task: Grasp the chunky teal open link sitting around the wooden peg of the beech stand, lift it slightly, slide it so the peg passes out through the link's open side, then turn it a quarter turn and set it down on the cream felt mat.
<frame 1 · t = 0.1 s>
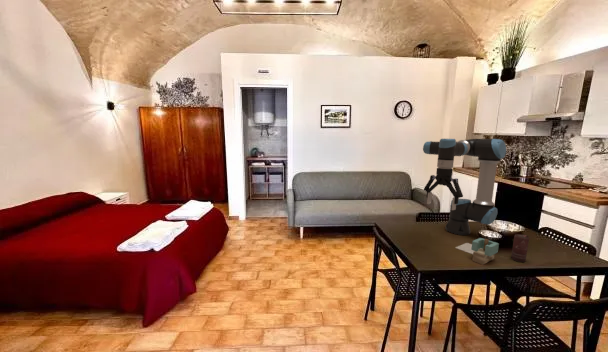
hand: (440, 206, 141), 28 cm above the table, fingers open, 13 cm apart
can: (518, 260, 142), on the table
c link: (484, 251, 140), point 5 cm above the table, touching hook stand
felt mat: (473, 249, 153), on the table
hook stand: (483, 259, 141), on the table
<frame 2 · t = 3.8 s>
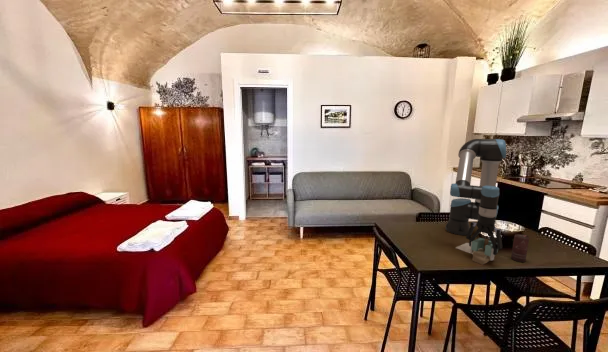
hand: (481, 256, 139), 3 cm above the table, fingers closed on c link, 9 cm apart
c link: (484, 251, 140), point 5 cm above the table, touching gripper, hook stand
everything else where it was.
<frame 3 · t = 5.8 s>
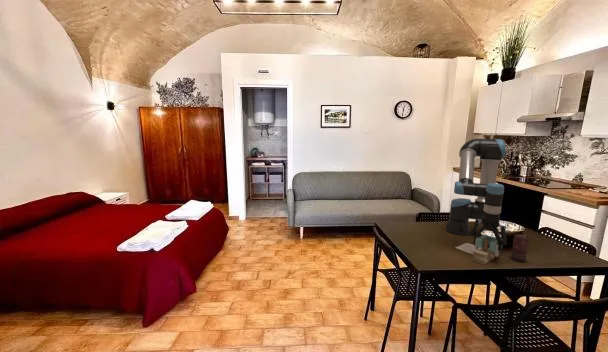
hand: (486, 252, 142), 4 cm above the table, fingers closed on c link, 9 cm apart
c link: (489, 247, 143), point 6 cm above the table, touching gripper
everything else where it was.
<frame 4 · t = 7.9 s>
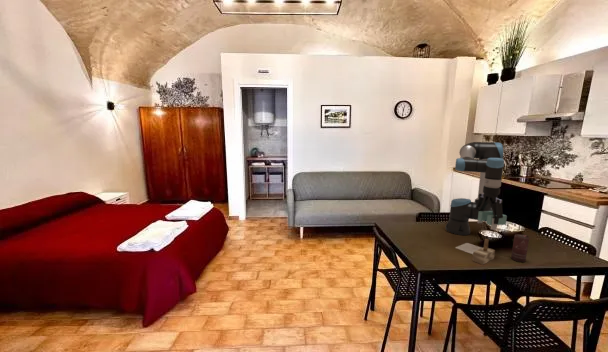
hand: (486, 226, 145), 17 cm above the table, fingers closed on c link, 9 cm apart
c link: (491, 222, 144), point 19 cm above the table, touching gripper
everything else where it was.
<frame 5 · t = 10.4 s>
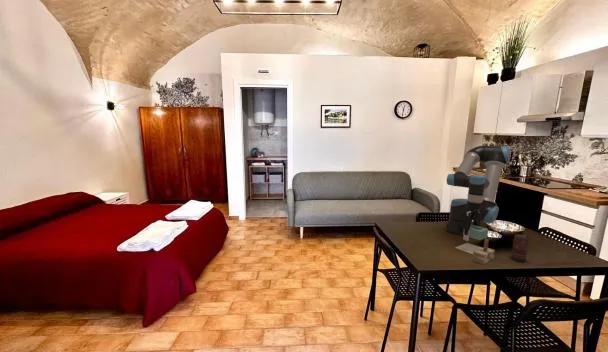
hand: (470, 238, 154), 6 cm above the table, fingers closed on c link, 9 cm apart
c link: (475, 236, 152), point 8 cm above the table, touching gripper
everything else where it was.
when the fingers open (1 cm above the table, at t = 12.3 s): c link drops 3 cm, resting on felt mat.
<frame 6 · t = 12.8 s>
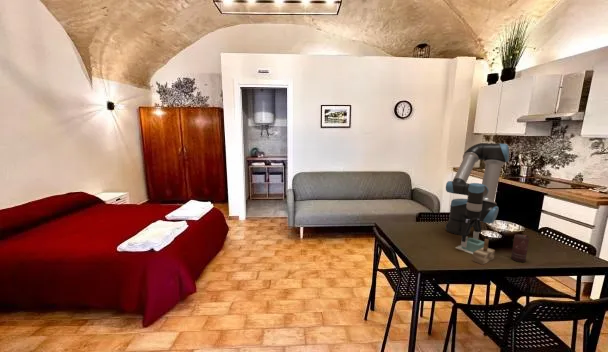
hand: (469, 244, 155), 3 cm above the table, fingers open, 13 cm apart
c link: (473, 249, 153), resting on felt mat
everything else where it was.
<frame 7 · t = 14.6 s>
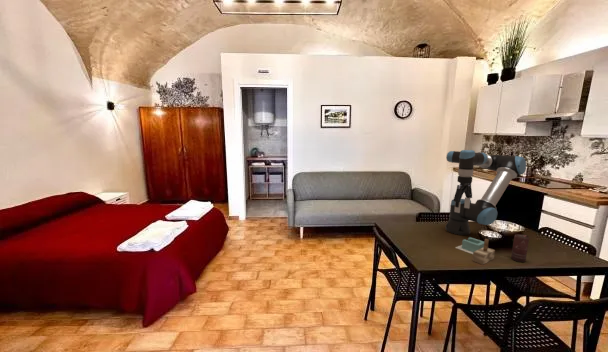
hand: (461, 210, 159), 21 cm above the table, fingers open, 13 cm apart
nothing on the table moved.
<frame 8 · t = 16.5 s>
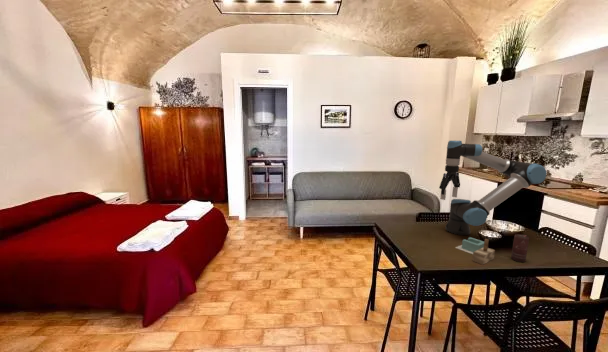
hand: (448, 198, 166), 27 cm above the table, fingers open, 13 cm apart
nothing on the table moved.
at the end: c link inside the target area on the felt mat (0.1 cm from its centre), point 0.3 cm above the felt mat's base; c link touching felt mat; c link tilted 0° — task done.
